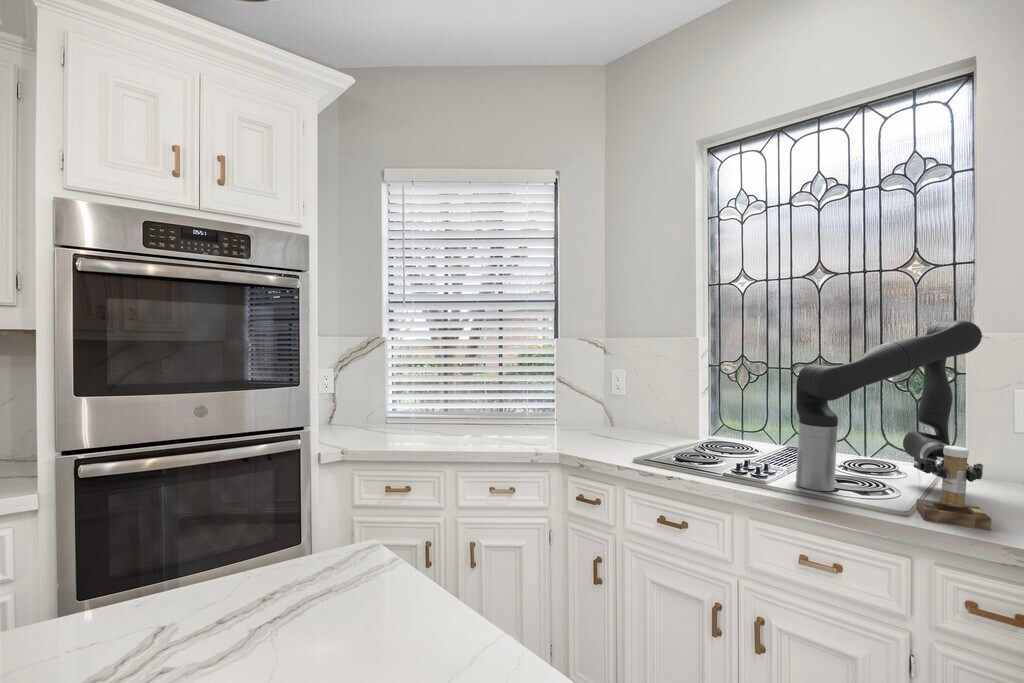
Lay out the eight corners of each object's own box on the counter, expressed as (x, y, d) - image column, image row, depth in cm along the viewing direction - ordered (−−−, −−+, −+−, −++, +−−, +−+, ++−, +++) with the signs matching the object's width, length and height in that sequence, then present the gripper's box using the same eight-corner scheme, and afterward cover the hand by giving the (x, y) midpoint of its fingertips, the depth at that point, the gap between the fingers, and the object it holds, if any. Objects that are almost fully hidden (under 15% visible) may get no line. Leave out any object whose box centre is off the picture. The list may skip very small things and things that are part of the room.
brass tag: (973, 513, 126) (973, 511, 126) (969, 509, 129) (969, 507, 129) (985, 514, 125) (985, 513, 125) (980, 510, 128) (980, 509, 128)
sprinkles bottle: (935, 501, 131) (938, 445, 131) (953, 501, 132) (956, 444, 131) (952, 508, 127) (955, 449, 126) (971, 507, 127) (974, 449, 126)
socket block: (923, 519, 128) (924, 509, 128) (916, 508, 136) (916, 498, 136) (990, 530, 122) (991, 518, 122) (978, 517, 130) (979, 507, 130)
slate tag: (924, 505, 130) (924, 504, 130) (921, 502, 133) (921, 500, 133) (934, 507, 129) (934, 506, 129) (931, 503, 132) (931, 502, 132)
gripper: (906, 441, 145) (920, 455, 129) (976, 447, 138) (999, 463, 123) (905, 469, 145) (918, 487, 130) (974, 477, 139) (997, 497, 123)
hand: (958, 475), depth 126 cm, fingers closed on sprinkles bottle, 4 cm apart
